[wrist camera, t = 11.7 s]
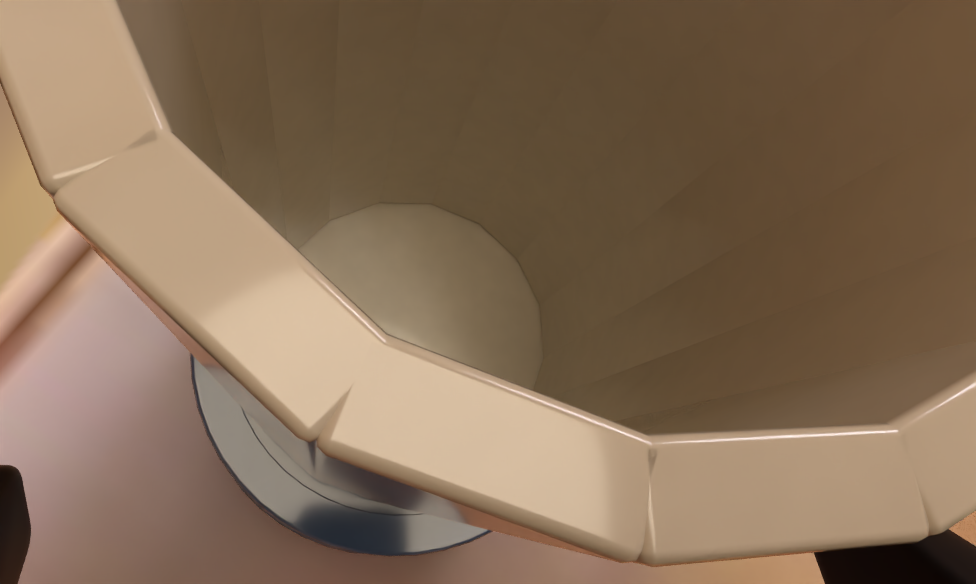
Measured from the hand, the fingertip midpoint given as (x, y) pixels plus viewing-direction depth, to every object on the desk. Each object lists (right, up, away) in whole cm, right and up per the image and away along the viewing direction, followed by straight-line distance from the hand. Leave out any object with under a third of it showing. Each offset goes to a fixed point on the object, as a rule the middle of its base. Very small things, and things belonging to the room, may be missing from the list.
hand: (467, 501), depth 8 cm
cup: (-2, +1, +8) cm, 8 cm away
